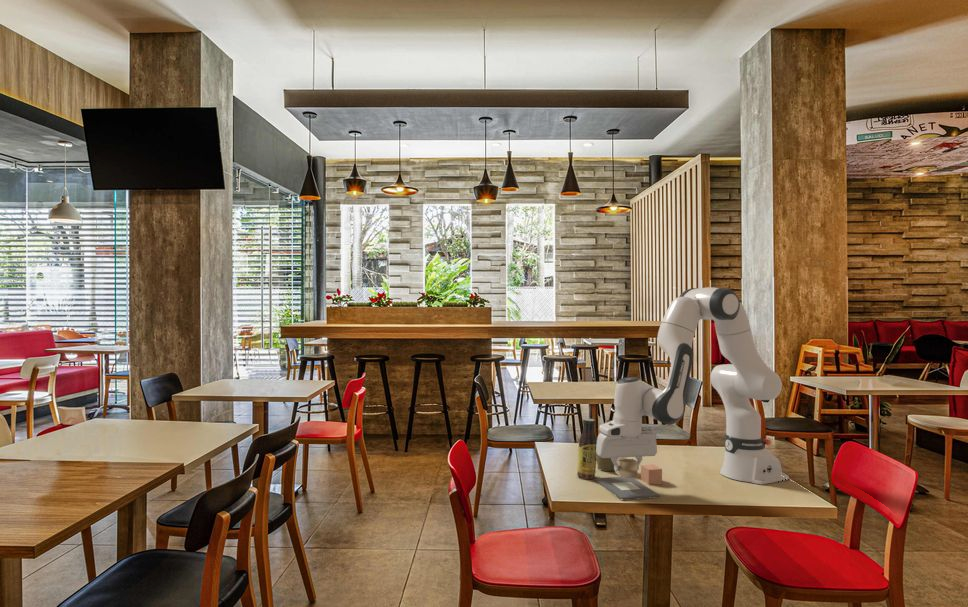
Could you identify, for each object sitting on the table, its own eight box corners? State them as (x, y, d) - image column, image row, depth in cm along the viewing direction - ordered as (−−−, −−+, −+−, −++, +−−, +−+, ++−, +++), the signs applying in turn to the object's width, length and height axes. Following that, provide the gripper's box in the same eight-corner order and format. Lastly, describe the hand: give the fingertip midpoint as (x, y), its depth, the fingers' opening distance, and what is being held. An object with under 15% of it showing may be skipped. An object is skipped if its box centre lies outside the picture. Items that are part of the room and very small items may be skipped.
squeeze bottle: (619, 467, 192) (621, 418, 192) (615, 474, 185) (616, 423, 185) (597, 464, 195) (599, 416, 195) (592, 470, 188) (594, 420, 188)
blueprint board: (630, 478, 180) (630, 475, 180) (659, 497, 163) (659, 494, 163) (595, 480, 177) (595, 477, 177) (621, 500, 160) (621, 497, 160)
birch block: (629, 472, 173) (629, 457, 173) (637, 477, 168) (637, 461, 168) (615, 473, 172) (615, 457, 172) (623, 478, 167) (623, 462, 167)
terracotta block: (653, 479, 181) (654, 464, 181) (661, 483, 176) (662, 469, 176) (640, 479, 179) (640, 465, 179) (648, 484, 175) (648, 469, 175)
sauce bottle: (582, 480, 177) (583, 421, 177) (573, 474, 183) (575, 417, 183) (599, 479, 179) (600, 421, 179) (590, 473, 185) (592, 417, 185)
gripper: (650, 424, 175) (649, 465, 175) (594, 426, 171) (593, 468, 171) (661, 428, 169) (660, 471, 169) (603, 430, 164) (602, 474, 164)
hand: (626, 470), depth 170 cm, fingers closed on birch block, 5 cm apart
